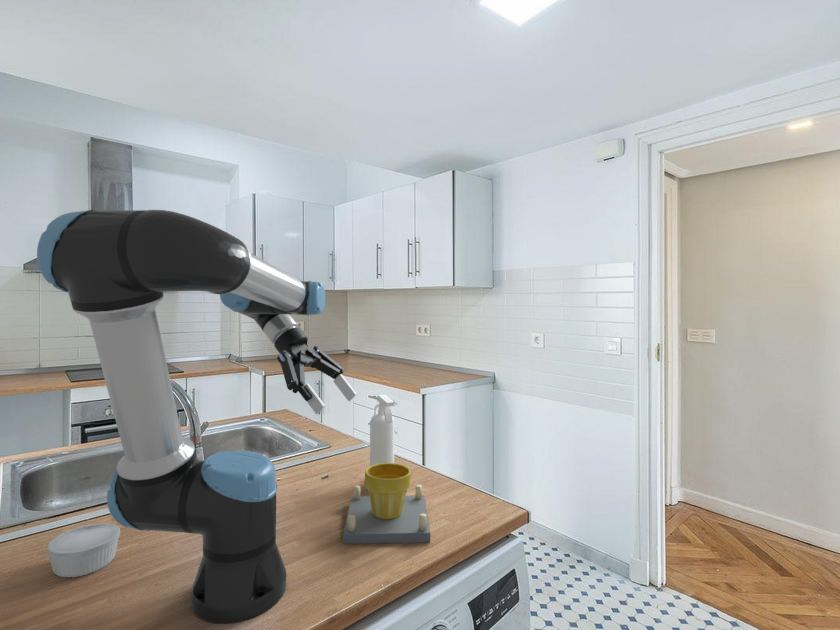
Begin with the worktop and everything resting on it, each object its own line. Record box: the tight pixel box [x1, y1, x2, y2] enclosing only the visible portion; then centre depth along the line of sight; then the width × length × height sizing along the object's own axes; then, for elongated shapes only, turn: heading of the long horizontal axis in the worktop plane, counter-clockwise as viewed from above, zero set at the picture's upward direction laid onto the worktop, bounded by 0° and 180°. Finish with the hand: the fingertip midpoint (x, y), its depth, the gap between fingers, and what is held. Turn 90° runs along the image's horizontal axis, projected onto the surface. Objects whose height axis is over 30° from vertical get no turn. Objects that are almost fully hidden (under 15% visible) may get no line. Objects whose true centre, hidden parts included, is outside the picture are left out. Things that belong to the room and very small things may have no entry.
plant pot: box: [364, 462, 412, 519], centre depth 104 cm, size 10×10×10 cm
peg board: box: [343, 484, 431, 545], centre depth 104 cm, size 18×18×5 cm
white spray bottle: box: [369, 393, 396, 467], centre depth 123 cm, size 7×12×25 cm, turn 25°
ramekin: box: [46, 522, 121, 578], centre depth 87 cm, size 11×11×5 cm
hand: (337, 403), depth 107 cm, fingers open, 13 cm apart
